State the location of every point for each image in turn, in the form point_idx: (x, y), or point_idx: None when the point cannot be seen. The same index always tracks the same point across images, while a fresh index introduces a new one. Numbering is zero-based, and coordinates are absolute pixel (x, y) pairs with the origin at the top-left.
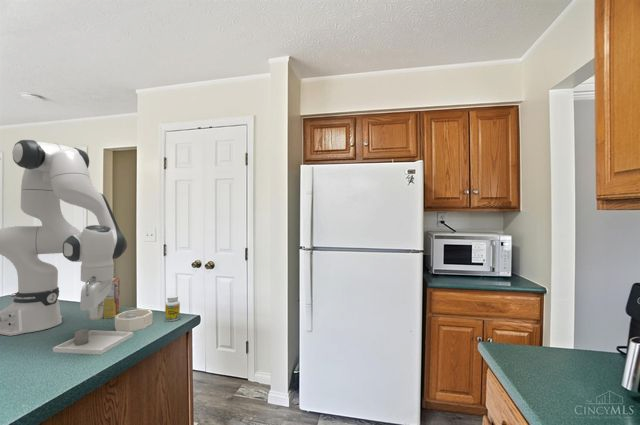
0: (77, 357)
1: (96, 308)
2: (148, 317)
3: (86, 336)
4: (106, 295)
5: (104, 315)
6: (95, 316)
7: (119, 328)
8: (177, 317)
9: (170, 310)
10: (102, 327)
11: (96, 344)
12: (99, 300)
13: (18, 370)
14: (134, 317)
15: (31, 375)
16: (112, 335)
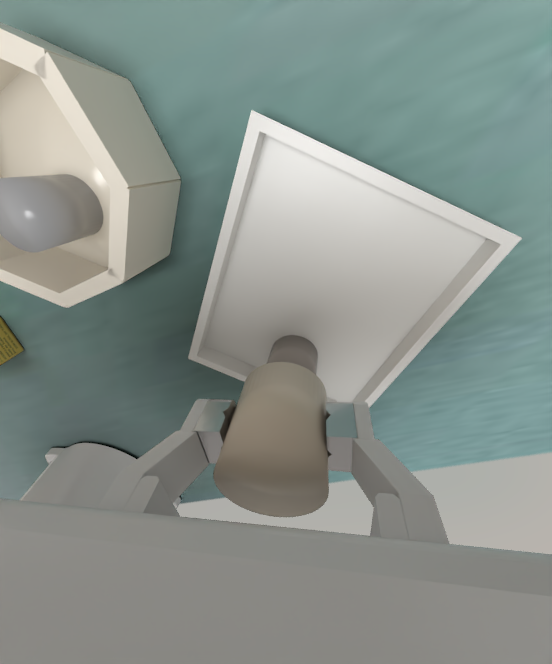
0: None
1: (430, 493)
2: (10, 29)
3: (301, 357)
4: (81, 527)
5: (10, 355)
6: (369, 413)
7: (160, 243)
8: None
9: None
10: (110, 329)
11: (331, 295)
12: (521, 644)
13: (450, 448)
14: (35, 181)
15: (531, 415)
16: (229, 255)
